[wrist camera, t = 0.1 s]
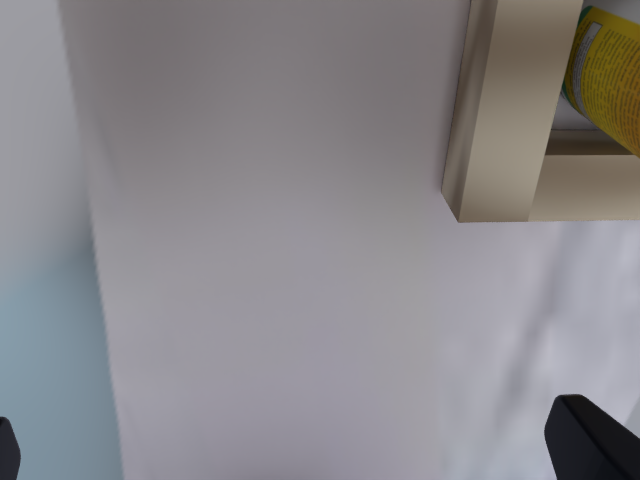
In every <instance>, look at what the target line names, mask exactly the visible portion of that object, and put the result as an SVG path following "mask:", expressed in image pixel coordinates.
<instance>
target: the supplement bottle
mask: <svg viewBox="0 0 640 480" xmlns="http://www.w3.org/2000/svg"><path fill="white" fill-rule="evenodd" d="M561 93H562V95H563V96H564V98H565V99H566V101H567V102H568V103H569V104H570V105H571V106H572V107H573V108H574V109H575V110H576V111H578V112H579V113H580V114H581V115H583V116H584V117H586V118H587V119H588V120H589V121H591V122H592V123H593V124H594V125H596V126H597V127H598V128H599V129H601V130H602V131H604V132H605V133H606V134H608V135H609V136H610V137H612V138H613V139H614V140H616V141H617V142H618V143H620V144H621V145H622V146H624V147H625V148H626V149H628V150H629V151H630V152H632V153H633V154H634V155H636V156H637V157H638V158H639V159H640V0H584V1H583V4H582V8H581V12H580V16H579V20H578V24H577V28H576V32H575V36H574V39H573V43H572V47H571V51H570V55H569V59H568V63H567V67H566V71H565V75H564V79H563V83H562V87H561Z"/></svg>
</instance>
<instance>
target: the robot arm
mask: <svg viewBox="0 0 640 480" xmlns="http://www.w3.org/2000/svg"><path fill="white" fill-rule="evenodd" d="M544 435H545V441H546V444H547V448H548V451H549V454H550V457H551V461H552V464H553V467H554V471H555V474H556V477H557V480H640V438H638V437H637V436H636V435H634V434H633V433H632V432H630V431H629V430H628V429H627V428H625V427H624V426H623V425H621V424H620V423H619V422H617V421H616V420H615V419H614V418H612V417H611V416H610V415H608V414H607V413H606V412H604V411H603V410H602V409H600V408H599V407H598V406H597V405H595V404H594V403H593V402H591V401H590V400H589V399H587V398H586V397H584V396H583V395H580V394H568V395H558V396H557V397H556V398H555V400H554V402H553V405H552V408H551V411H550V413H549V416H548V419H547V422H546V425H545V430H544ZM20 459H21V455H20V448H19V446H18V443H17V440H16V437H15V434H14V432H13V429H12V426H11V424H10V421H9V420H8V419H7V418H6V417H0V480H16V479H17V475H18V470H19V466H20Z"/></svg>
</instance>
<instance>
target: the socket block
mask: <svg viewBox="0 0 640 480" xmlns="http://www.w3.org/2000/svg"><path fill="white" fill-rule="evenodd" d="M582 4H583V0H471V6H470V13H469V19H468V25H467V32H466V38H465V44H464V51H463V57H462V64H461V70H460V76H459V83H458V89H457V95H456V102H455V108H454V114H453V121H452V127H451V133H450V140H449V146H448V152H447V159H446V165H445V172H444V178H443V184H442V191H441V193H442V195H443V197H444V199H445V200H446V202H447V204H448V206H449V207H450V209H451V211H452V213H453V214H454V216H455V218H456V220H457V221H458V223H462V222H529V221H596V220H640V159H639V158H638V157H637V156H636V155H634V154H633V153H632V152H630V151H629V150H628V149H626V148H625V147H624V146H622V145H621V144H620V143H618V142H617V141H616V140H614V139H613V138H612V137H610V136H609V135H608V134H606V133H605V132H604V131H602V130H551V127H552V123H553V119H554V115H555V111H556V107H557V103H558V99H559V95H560V91H561V87H562V83H563V79H564V75H565V71H566V67H567V63H568V59H569V55H570V51H571V47H572V43H573V39H574V36H575V32H576V28H577V24H578V20H579V16H580V12H581V8H582Z"/></svg>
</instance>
